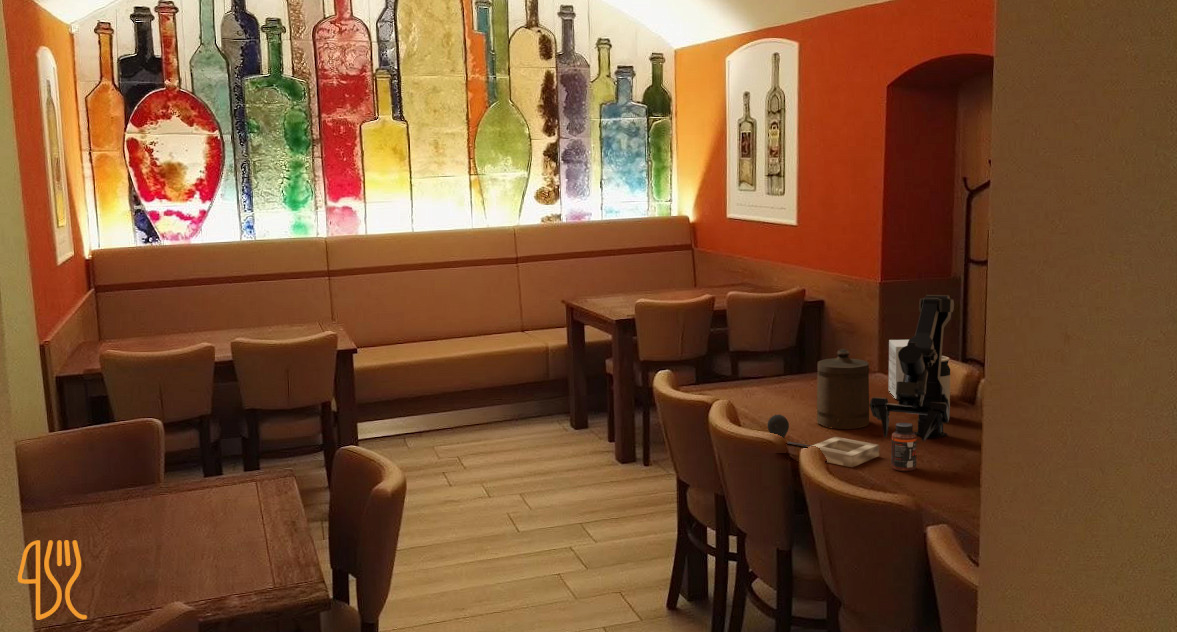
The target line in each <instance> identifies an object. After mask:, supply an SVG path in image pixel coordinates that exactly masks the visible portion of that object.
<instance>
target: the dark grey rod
mask: <svg viewBox="0 0 1177 632" xmlns="http://www.w3.org/2000/svg"><path fill="white" fill-rule="evenodd" d="M787 442H788V444H795V445H800V446H801V445H802V446H803V447H802V448H804V447H806V446H812V445H811V444H810V445H809V444H805V443H804V444H803V443H797V442H791V441H787Z"/></svg>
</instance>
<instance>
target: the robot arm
mask: <svg viewBox="0 0 1177 632" xmlns="http://www.w3.org/2000/svg"><path fill="white" fill-rule="evenodd" d="M918 304H919V305H918V310H919V311H918V312H920V314H919V318H918V322H917V325H916V328H915V330H916V331H915V334H914V336H912V337H911V338H909V339H908V340H909V341H908V344H907V346H905V347H903V348H902V349H901V350H900V351H899V352H898V357H899V361H900V365H901V369H902V372H903V373H904V378H903V382H897V387H896V395H897V398H896V399H897V400H896V401H897V402H898V403H889V400H888V397H881V396H879V397H878V396H873V397H872V398H871V399H869V409H870V411H871V414H872V416H873V417H875V418H876V419H877V420H879V421H881V425H882V431H883V433H882V434H883V437H884V438H887V437H888V432H889V424H890V417H889V416H890V412H894V413H904V414H905V413H906V414H912V415H914V414H915V415H918V419H917V431H913V432H914V433H915V434H916V436H921V440H922V441H921V442H925V441H926V440H927V439H935V438H936V439H937V438H940V437H946V436H948V433H947V432H944V424H948V423H949V422H950V421H949V420H950V417H949V414H951V413H950V412H951V411H950V410H951V409H950V408H949V401H948V399H947V395H946V394H945V388H944V386H943V385H942V383H941V381H940V371H941V358H942V356H943V342H944V341H943V340H944V331H945V330H944V329H945V327H946V326H947V324H948V323H949V322H950V320H951V319H952V313H954V309H955V308H954V307H955V302H954V299H951V297H950V295H949V294H948V295H946V294H945V295H943V294H926V295H925V296H924V297H923V298H920V297H919V303H918Z"/></svg>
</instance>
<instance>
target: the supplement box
mask: <svg viewBox="0 0 1177 632" xmlns="http://www.w3.org/2000/svg"><path fill="white" fill-rule="evenodd" d="M908 341H909V339H889V340H888V392H889V391H890V392H889V394H890V393H891V394H892V395H893V396H894V397H893V396H892V395H891V394H890V395H891V396H892V397H893V399H894V398H895V399H896V398H897V395H896V387H897V382H903V378H904V373H903V372H902V369H901V365H900V361H899V357H898V352H899V351H900V350H901V349H902V348H903V347H905V346H907V344H908Z"/></svg>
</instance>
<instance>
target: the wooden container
mask: <svg viewBox="0 0 1177 632" xmlns="http://www.w3.org/2000/svg"><path fill="white" fill-rule="evenodd" d="M836 354H837V357H833V358H825V359H822V360H818V361H817V364H816V365H817V376H816V377H817V381H816V383H817V385H816V387H817V388H816V423H817V422H818V423H819V424H821V425H824V426H827V427H832V428H831V429H833V428H839V429H838V430H857V428H858V429H862V427H863V428H866V427H868V426H869V425H870V389H869V388H870V387H869V386H870V385H869V384H870V382H869V381H870V380H869V378H870V376H869V374H870V373H869V372H870V364H869V363H870V362H868V361H866V360H865V359H864V360H863V359H859V358H850V357H849V355H850V351H849V350H847V349H846V348H841V349H839V350H837V352H836ZM818 423H817V424H818ZM819 424H818V425H819ZM821 425H820V426H821ZM824 426H823V427H824ZM827 427H826V428H827Z"/></svg>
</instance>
